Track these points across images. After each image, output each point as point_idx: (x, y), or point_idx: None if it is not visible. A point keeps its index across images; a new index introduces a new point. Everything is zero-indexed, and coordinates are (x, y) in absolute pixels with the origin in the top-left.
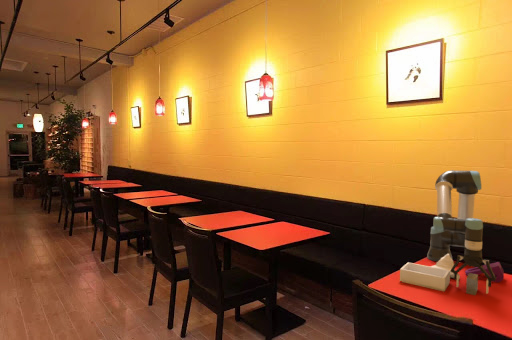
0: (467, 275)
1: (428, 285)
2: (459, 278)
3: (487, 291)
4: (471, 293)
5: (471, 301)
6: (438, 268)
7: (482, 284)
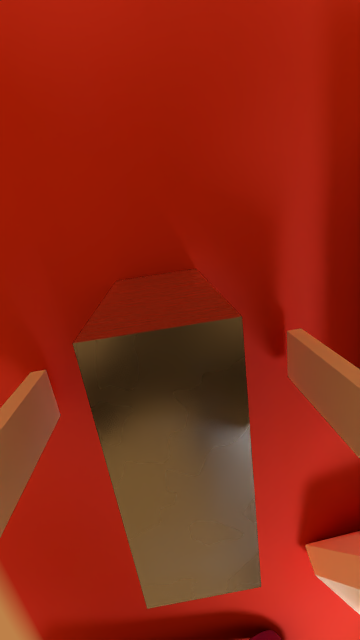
0: (273, 631)
1: None
2: (307, 550)
3: (25, 382)
4: (150, 276)
5: (80, 21)
6: None
7: None
